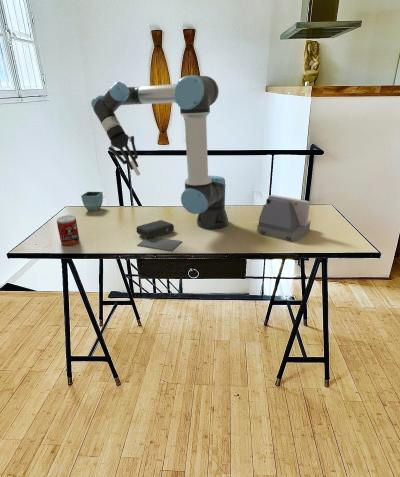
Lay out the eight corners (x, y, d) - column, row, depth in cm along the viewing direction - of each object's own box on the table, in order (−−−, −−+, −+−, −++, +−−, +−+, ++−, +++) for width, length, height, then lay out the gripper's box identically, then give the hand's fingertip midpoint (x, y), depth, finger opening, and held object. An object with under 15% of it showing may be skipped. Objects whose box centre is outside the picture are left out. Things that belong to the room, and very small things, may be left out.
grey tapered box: (315, 231, 158) (319, 199, 152) (290, 244, 144) (294, 210, 138) (276, 220, 172) (278, 190, 166) (250, 231, 158) (252, 200, 152)
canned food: (62, 247, 144) (57, 223, 139) (59, 240, 150) (55, 217, 146) (81, 244, 147) (77, 219, 143) (77, 237, 154) (74, 214, 149)
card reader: (148, 240, 148) (174, 232, 159) (148, 231, 147) (174, 223, 157) (135, 234, 154) (161, 227, 164) (135, 225, 153) (161, 219, 163)
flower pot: (89, 206, 193) (87, 191, 190) (104, 207, 192) (102, 191, 189) (82, 211, 185) (80, 195, 182) (98, 212, 184) (96, 196, 181)
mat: (181, 241, 148) (181, 241, 148) (171, 251, 139) (171, 250, 139) (149, 236, 153) (148, 235, 153) (137, 245, 145) (137, 244, 145)
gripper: (127, 126, 161) (151, 170, 160) (102, 138, 159) (126, 183, 159) (125, 119, 154) (151, 165, 153) (99, 132, 152) (124, 178, 151)
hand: (138, 174), depth 156 cm, fingers closed
